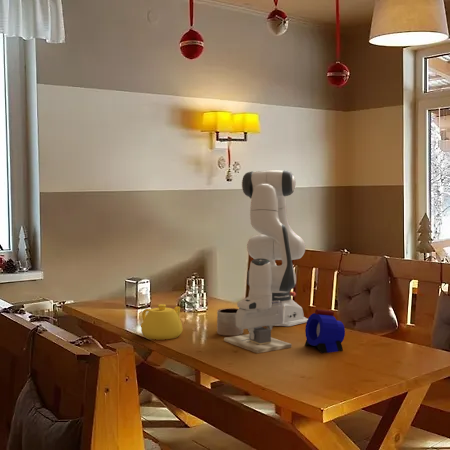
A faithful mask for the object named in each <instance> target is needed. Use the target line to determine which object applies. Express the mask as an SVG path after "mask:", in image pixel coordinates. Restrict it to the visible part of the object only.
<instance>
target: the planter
mask: <svg viewBox="0 0 450 450" xmlns="http://www.w3.org/2000/svg"><path fill="white" fill-rule="evenodd" d="M238 309H239V308H234V307H232V308H231V307H230V308H229V307H227V308H226V307H225V308H220V309H217V310H216V311H217V313H216V314H217V317H216V319H217V320H216V324H217V325H216V333H217V334H218V335H219V336H223V337H233V336H239V335H244V332H245V331H244V330H245V329H239V328H237V326H236V313H237V310H238Z"/></svg>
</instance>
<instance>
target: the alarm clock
mask: <svg viewBox="0 0 450 450" xmlns="http://www.w3.org/2000/svg"><path fill="white" fill-rule="evenodd" d="M345 328H346V327H345V324H344V323H343V322H342V321H341V320H337V319H336V317H335V312H334V311H333V310H326V309H318V308H316V309H315V311H314V312H313V313H311V314H310V315H309V317H308V320H307V322H305V328H304V329H305V331H304V334H305V338H306V340H305V342H304V346H306V347H307V346H314V347H316V348H317V350H318V351H319V352H320V353H321V354H330V353H335V352H343V351H344V350H343V341H344V339H345V336H346V329H345Z"/></svg>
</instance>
